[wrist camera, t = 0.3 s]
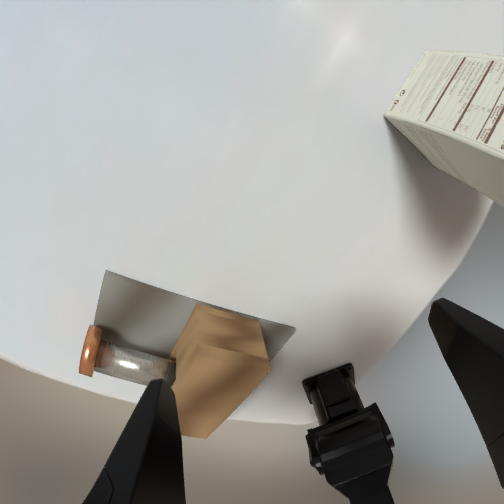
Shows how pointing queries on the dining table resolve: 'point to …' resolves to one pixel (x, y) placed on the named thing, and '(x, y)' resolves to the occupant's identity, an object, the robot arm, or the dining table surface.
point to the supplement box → (456, 116)
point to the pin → (123, 360)
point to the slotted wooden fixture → (191, 347)
